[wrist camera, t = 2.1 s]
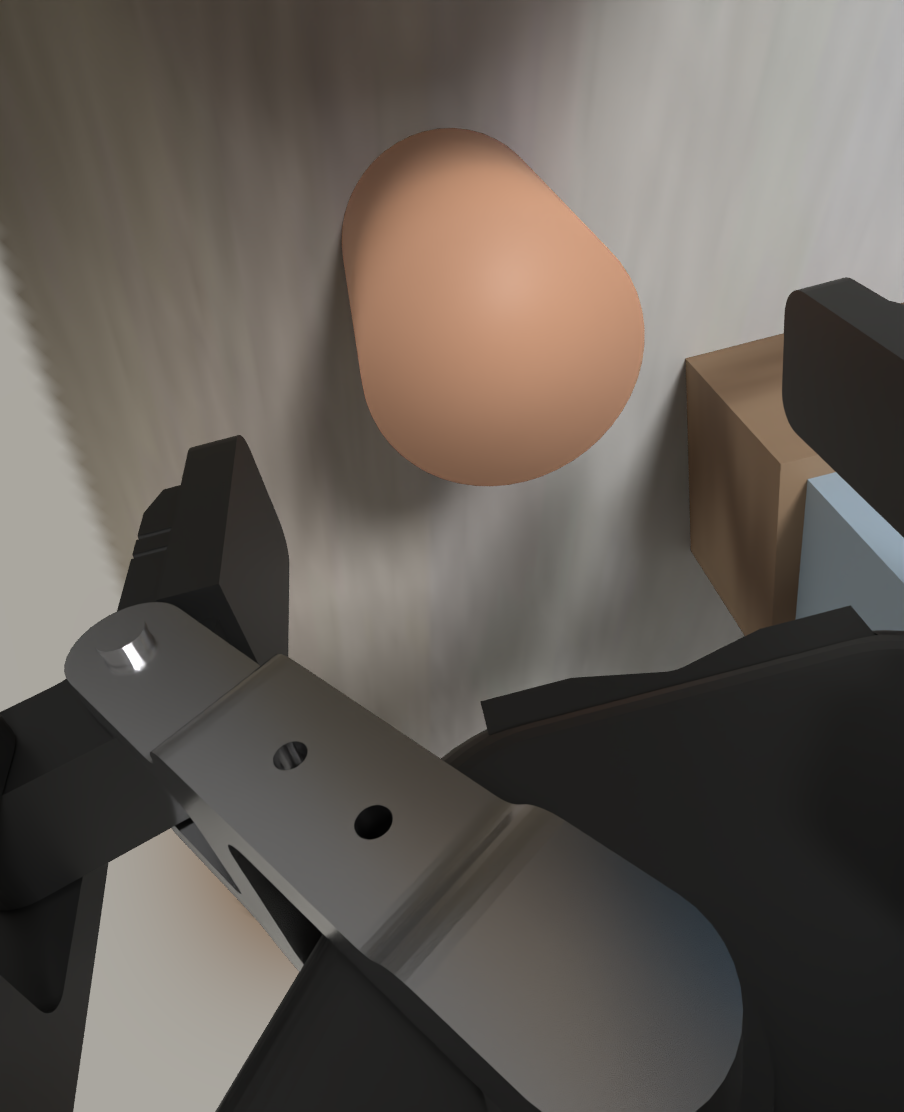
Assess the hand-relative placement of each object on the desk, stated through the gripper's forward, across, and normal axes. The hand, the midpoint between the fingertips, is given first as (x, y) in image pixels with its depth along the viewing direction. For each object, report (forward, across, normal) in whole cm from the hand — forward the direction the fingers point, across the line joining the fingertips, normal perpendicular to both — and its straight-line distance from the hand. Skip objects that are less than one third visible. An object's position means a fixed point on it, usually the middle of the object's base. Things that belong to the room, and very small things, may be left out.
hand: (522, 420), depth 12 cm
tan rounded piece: (+7, 0, -1) cm, 7 cm away
